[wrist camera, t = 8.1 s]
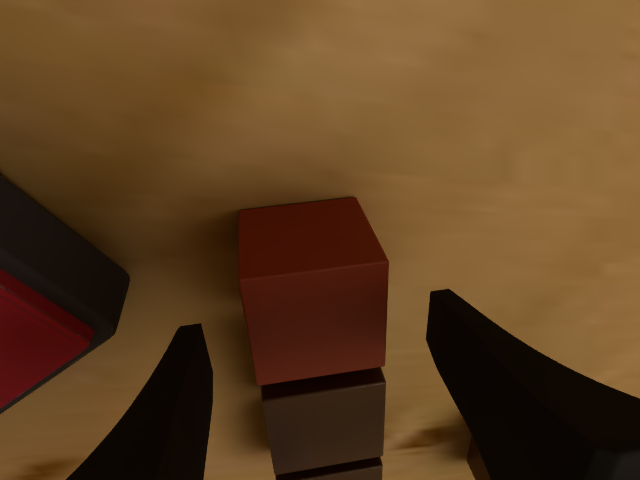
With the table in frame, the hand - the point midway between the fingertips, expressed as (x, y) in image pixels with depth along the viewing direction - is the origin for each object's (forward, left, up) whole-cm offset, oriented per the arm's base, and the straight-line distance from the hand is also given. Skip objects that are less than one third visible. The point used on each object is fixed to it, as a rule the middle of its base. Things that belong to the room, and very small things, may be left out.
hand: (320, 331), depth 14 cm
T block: (-5, 0, -4) cm, 7 cm away
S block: (0, 0, -4) cm, 4 cm away
